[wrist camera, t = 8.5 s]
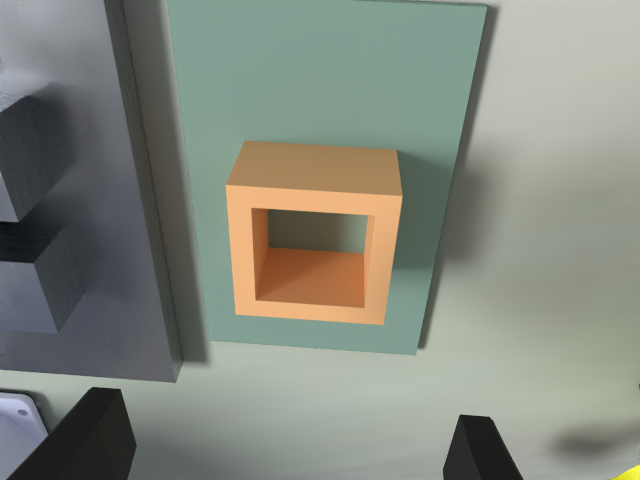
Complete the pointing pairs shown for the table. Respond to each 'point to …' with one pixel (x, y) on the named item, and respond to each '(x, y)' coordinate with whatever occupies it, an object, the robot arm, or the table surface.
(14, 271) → the vise
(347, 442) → the table surface
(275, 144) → the collar
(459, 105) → the mat
